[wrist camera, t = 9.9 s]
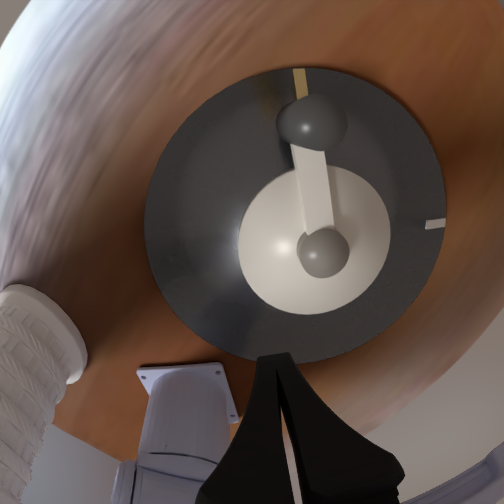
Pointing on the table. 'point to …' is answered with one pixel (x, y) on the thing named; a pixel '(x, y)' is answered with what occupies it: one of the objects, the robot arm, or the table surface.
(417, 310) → the table surface
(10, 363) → the decorative container
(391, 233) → the dial plate
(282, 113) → the dial
